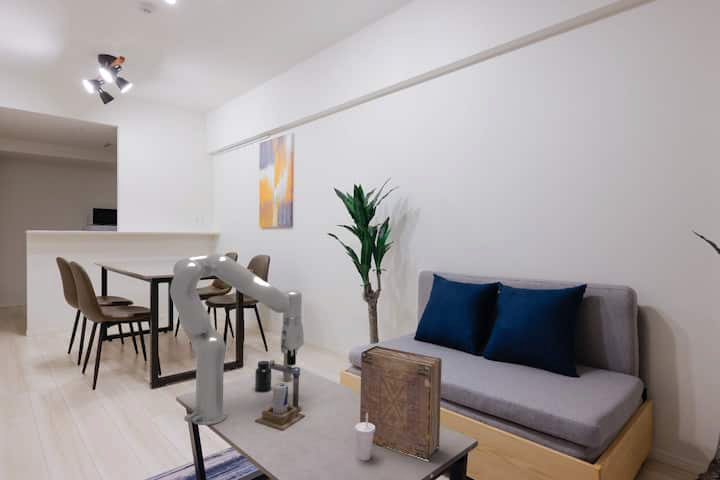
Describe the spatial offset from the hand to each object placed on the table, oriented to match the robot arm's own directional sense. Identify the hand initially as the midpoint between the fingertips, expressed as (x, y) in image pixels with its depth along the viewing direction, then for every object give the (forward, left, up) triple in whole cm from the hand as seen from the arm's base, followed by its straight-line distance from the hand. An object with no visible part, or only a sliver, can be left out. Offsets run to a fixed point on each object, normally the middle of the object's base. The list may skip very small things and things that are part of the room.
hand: (291, 364), depth 170 cm
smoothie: (-22, -47, -15) cm, 54 cm away
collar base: (-14, -8, -15) cm, 22 cm away
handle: (+16, +15, -15) cm, 27 cm away
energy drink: (-16, -8, -14) cm, 23 cm away
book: (-9, -53, -15) cm, 56 cm away
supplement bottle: (+2, +17, -15) cm, 23 cm away
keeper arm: (-7, -2, -1) cm, 7 cm away
